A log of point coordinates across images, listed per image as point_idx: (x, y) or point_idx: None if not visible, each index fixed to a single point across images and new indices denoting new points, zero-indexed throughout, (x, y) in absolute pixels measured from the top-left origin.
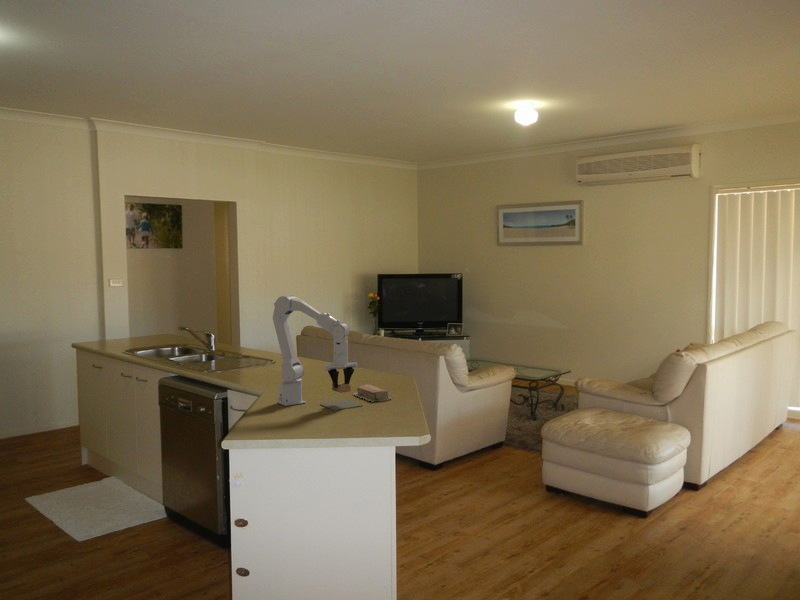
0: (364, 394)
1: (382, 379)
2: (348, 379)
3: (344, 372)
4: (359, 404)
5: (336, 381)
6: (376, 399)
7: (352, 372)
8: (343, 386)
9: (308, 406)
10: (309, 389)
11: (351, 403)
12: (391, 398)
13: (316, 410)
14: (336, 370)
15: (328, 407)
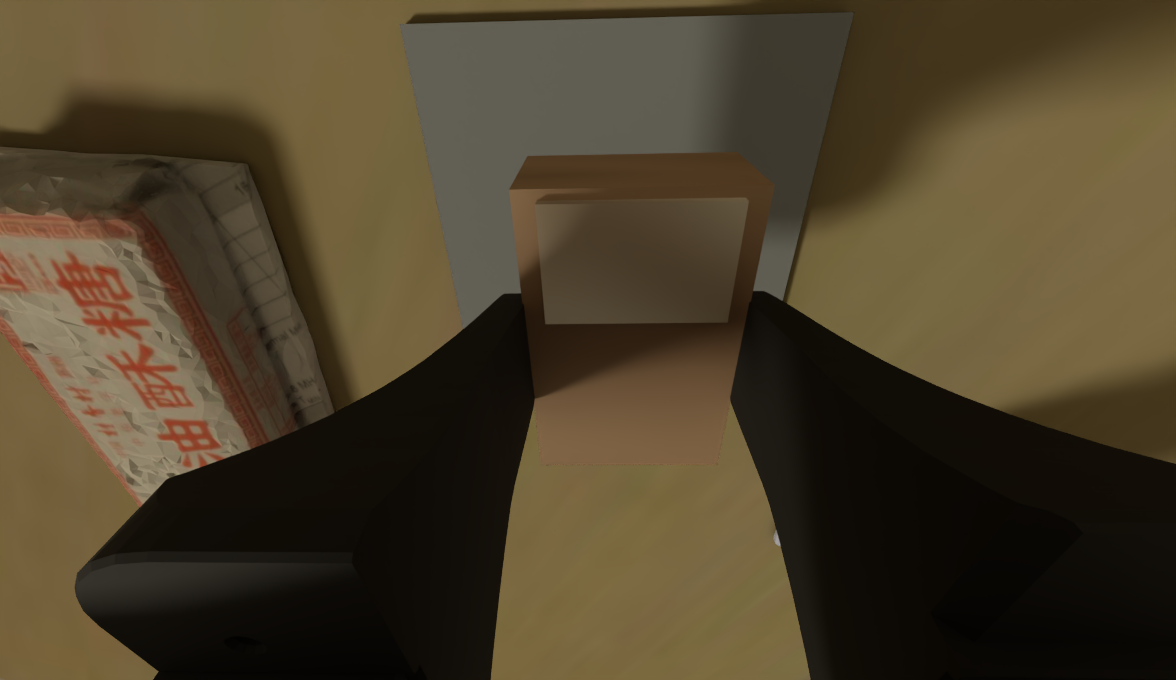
0: (270, 381)
1: (97, 658)
2: (486, 351)
3: (489, 605)
4: (429, 96)
5: (832, 340)
6: (160, 167)
7: (276, 452)
8: (693, 185)
9: (876, 356)
10: (558, 657)
11: (497, 205)
12: None
13: (973, 164)
14: (988, 663)
15: (810, 183)
